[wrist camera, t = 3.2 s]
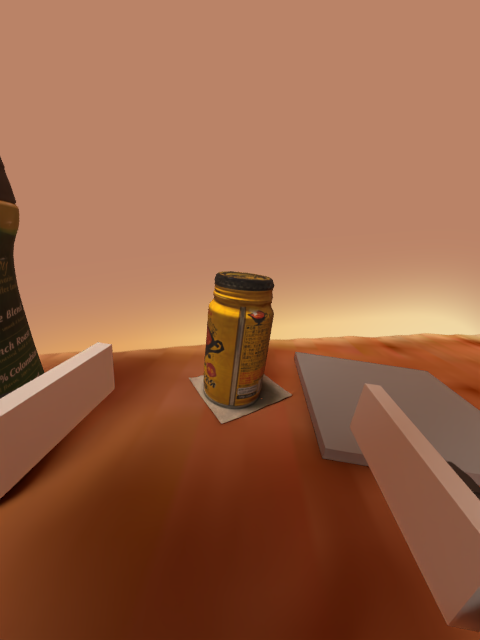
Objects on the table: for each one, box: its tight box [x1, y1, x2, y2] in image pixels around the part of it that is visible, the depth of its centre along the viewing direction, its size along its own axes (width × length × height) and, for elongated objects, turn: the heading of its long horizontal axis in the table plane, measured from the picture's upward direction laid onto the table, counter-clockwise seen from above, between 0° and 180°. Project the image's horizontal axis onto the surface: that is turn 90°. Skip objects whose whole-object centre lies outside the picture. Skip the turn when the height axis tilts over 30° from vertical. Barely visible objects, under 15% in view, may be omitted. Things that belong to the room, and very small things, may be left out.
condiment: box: [189, 271, 292, 424], centre depth 22 cm, size 7×8×12 cm
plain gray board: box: [294, 352, 480, 485], centre depth 24 cm, size 18×16×1 cm
